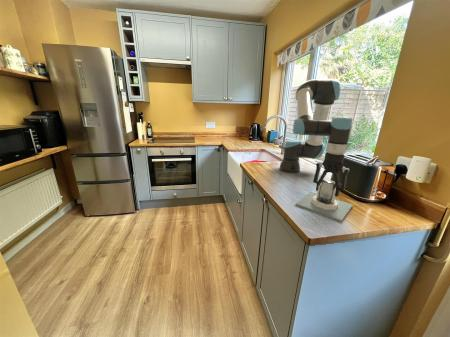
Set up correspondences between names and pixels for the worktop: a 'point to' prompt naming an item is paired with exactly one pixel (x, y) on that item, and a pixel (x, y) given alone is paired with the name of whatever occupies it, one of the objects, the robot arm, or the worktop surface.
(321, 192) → the duct collar
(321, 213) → the duct flange
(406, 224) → the worktop surface
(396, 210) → the worktop surface
